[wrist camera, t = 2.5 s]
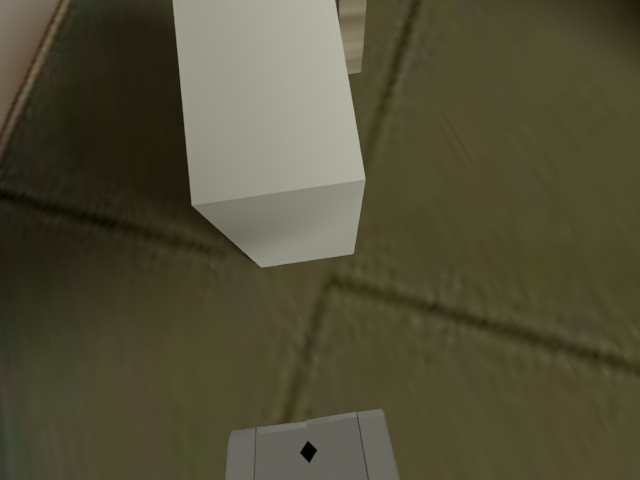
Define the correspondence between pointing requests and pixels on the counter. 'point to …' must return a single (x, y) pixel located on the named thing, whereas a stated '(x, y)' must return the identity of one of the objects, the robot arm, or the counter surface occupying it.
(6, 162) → the counter surface
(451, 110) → the counter surface
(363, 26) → the shelf wall
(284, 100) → the boxed book
